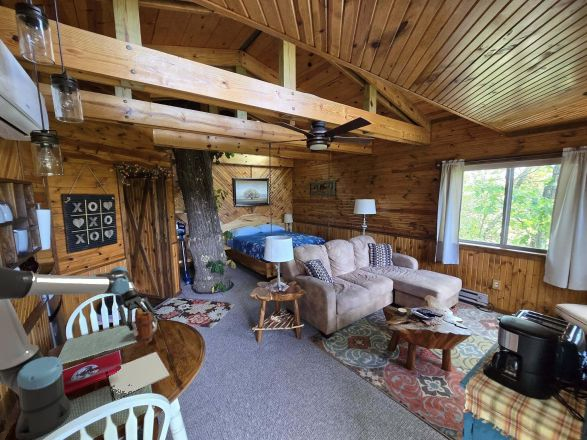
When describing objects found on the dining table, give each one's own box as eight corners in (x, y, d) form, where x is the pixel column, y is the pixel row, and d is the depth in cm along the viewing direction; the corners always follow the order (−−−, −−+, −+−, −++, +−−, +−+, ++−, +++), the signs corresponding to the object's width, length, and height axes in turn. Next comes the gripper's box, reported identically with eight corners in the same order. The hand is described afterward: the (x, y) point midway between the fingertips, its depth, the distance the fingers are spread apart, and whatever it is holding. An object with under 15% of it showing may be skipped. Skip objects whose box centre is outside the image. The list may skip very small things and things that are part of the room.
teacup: (155, 327, 162) (154, 315, 162) (159, 333, 155) (159, 321, 154) (130, 334, 153) (130, 322, 152) (133, 342, 145) (133, 329, 144)
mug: (157, 341, 121) (156, 313, 119) (138, 349, 115) (137, 318, 113) (146, 331, 130) (145, 304, 129) (128, 337, 124) (127, 309, 123)
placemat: (114, 401, 103) (114, 400, 103) (107, 371, 121) (107, 370, 121) (169, 375, 119) (169, 374, 118) (156, 352, 136) (156, 351, 136)
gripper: (145, 290, 137) (162, 326, 130) (103, 303, 120) (120, 345, 113) (150, 283, 134) (168, 319, 127) (107, 295, 117) (125, 337, 110)
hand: (145, 331), depth 120 cm, fingers closed on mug, 8 cm apart
